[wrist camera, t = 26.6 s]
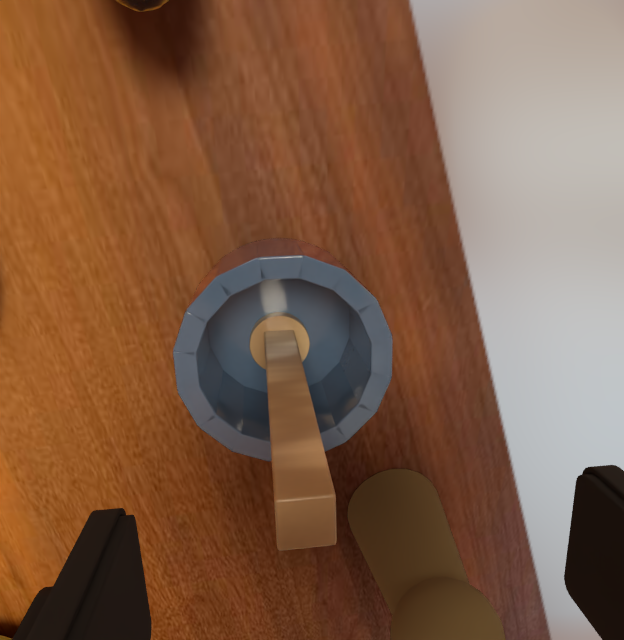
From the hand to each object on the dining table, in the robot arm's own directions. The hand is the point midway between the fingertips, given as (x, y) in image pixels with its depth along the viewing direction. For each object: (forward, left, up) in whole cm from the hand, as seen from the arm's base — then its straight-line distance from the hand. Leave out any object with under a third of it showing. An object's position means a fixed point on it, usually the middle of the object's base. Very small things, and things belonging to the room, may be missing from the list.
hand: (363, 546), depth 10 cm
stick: (+1, +1, -17) cm, 17 cm away
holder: (+1, +1, -18) cm, 18 cm away
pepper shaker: (-6, +13, -18) cm, 23 cm away
